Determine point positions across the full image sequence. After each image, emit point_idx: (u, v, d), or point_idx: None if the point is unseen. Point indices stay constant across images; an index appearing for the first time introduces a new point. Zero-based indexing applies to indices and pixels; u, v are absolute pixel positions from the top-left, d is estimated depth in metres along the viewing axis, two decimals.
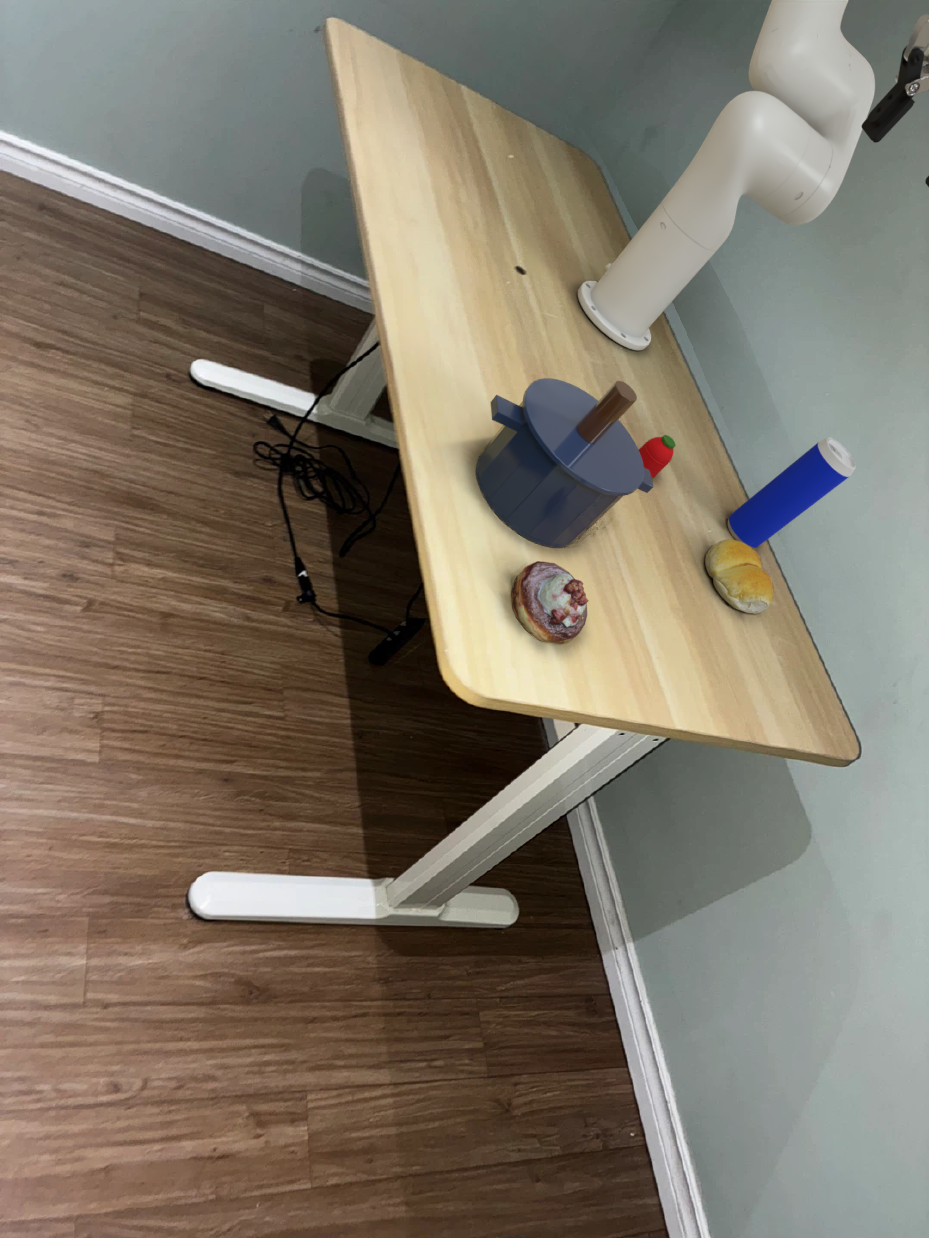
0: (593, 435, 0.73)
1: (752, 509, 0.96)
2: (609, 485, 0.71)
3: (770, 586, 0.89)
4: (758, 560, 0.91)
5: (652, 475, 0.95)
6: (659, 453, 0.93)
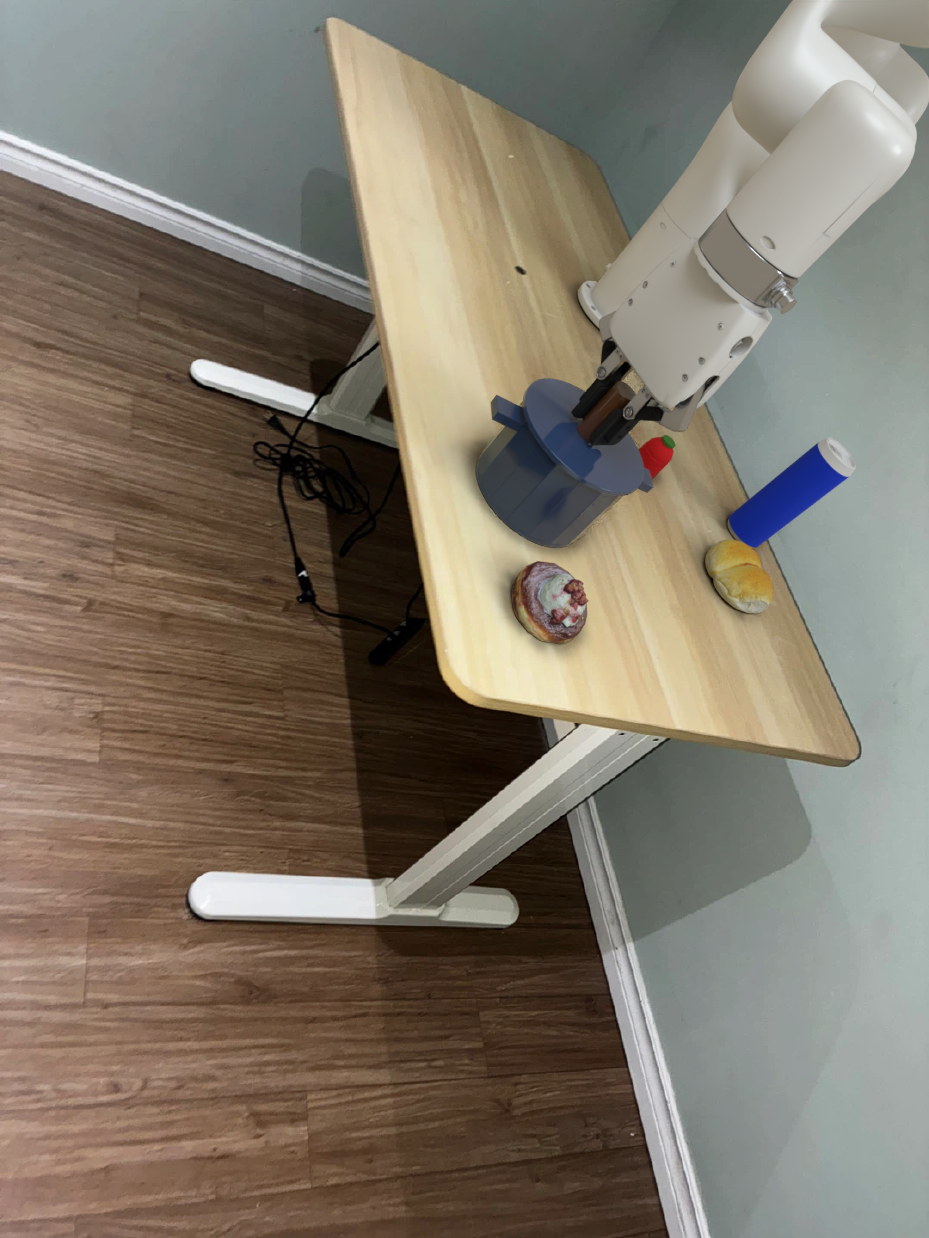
0: None
1: (752, 509, 0.96)
2: (609, 485, 0.71)
3: (770, 586, 0.89)
4: (758, 560, 0.91)
5: (652, 475, 0.95)
6: (659, 453, 0.93)
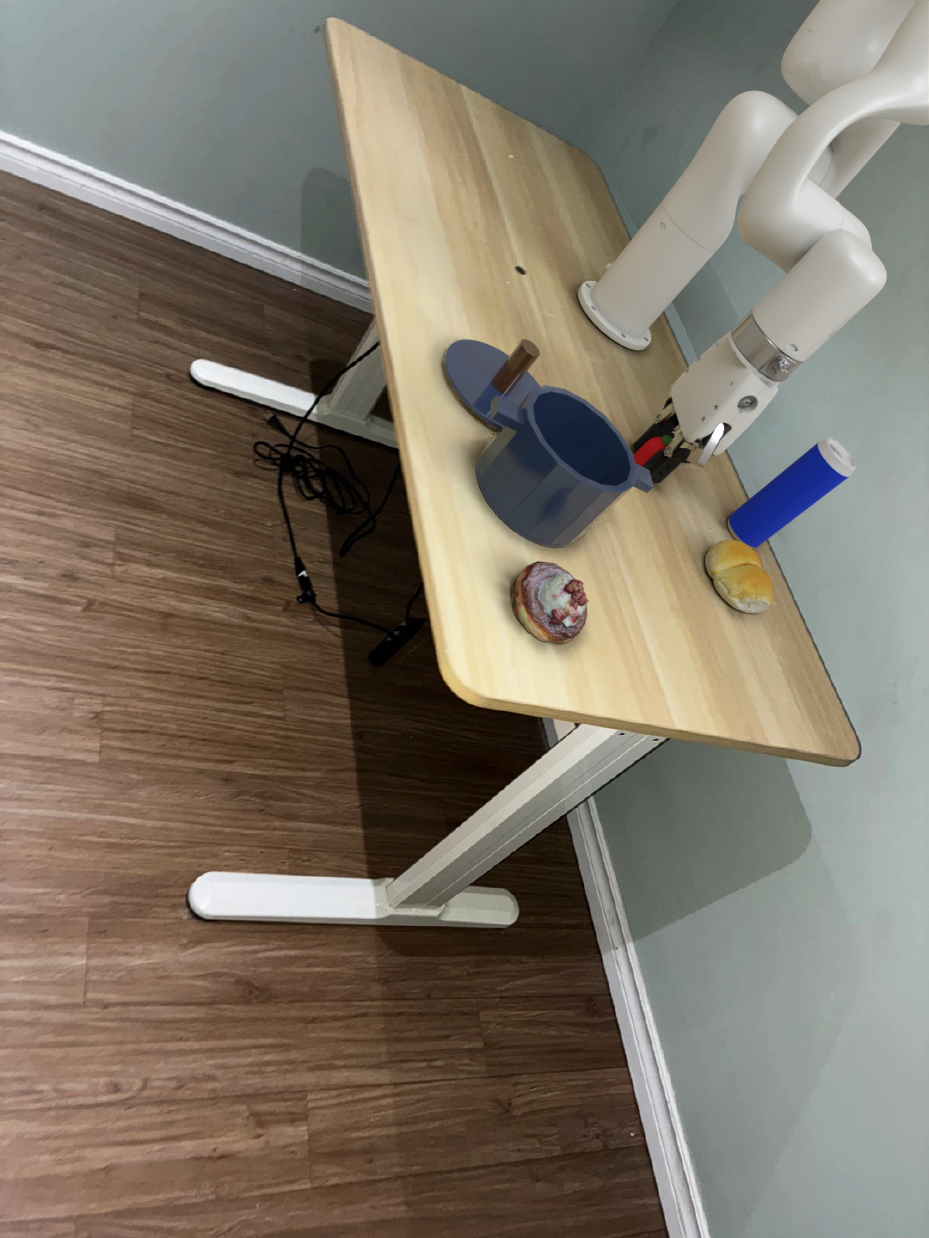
0: (505, 387, 0.85)
1: (752, 509, 0.96)
2: None
3: (770, 586, 0.89)
4: (758, 560, 0.91)
5: None
6: None
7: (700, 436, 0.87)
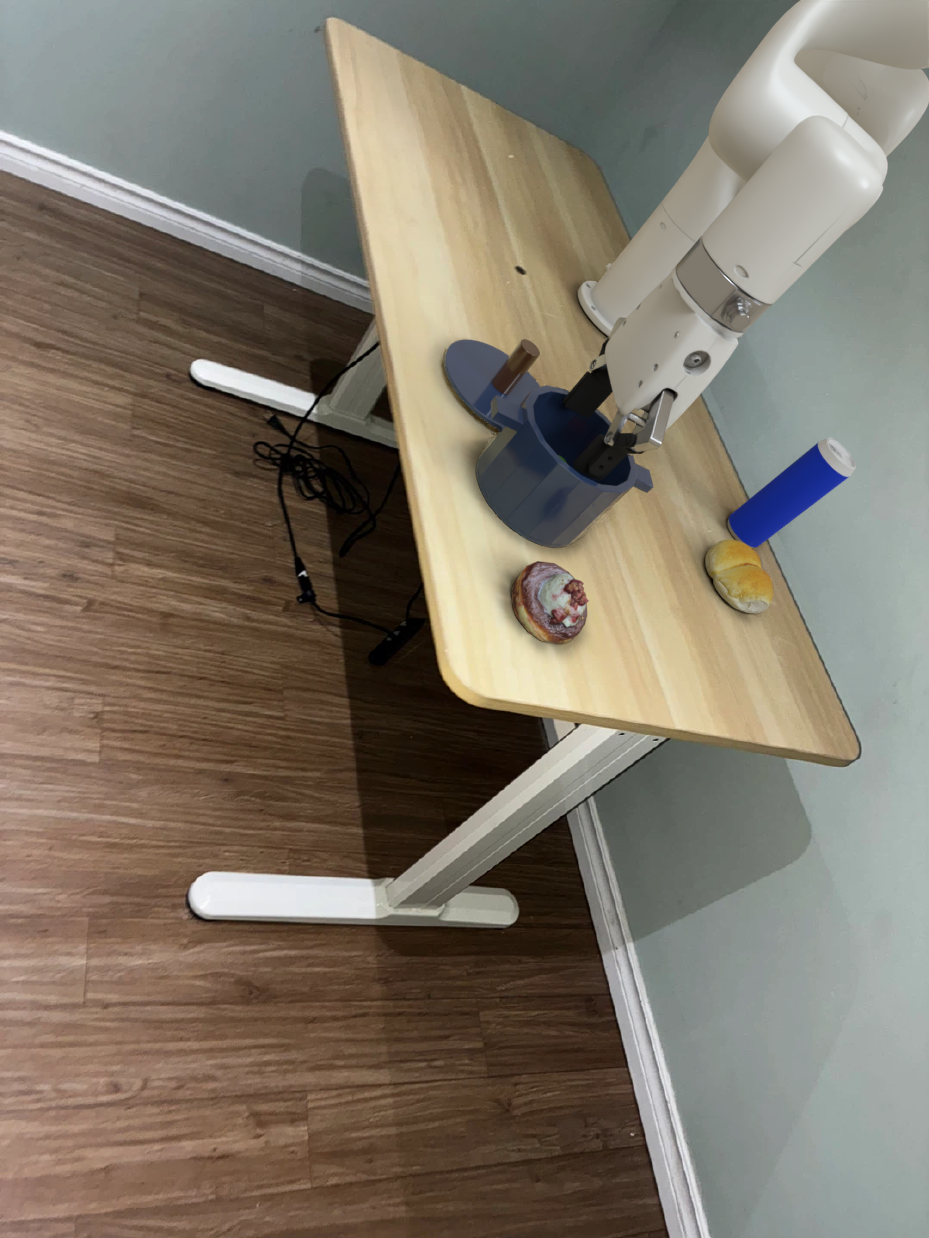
0: (505, 387, 0.85)
1: (752, 509, 0.96)
2: None
3: (770, 586, 0.89)
4: (758, 560, 0.91)
5: None
6: None
7: (648, 396, 0.65)
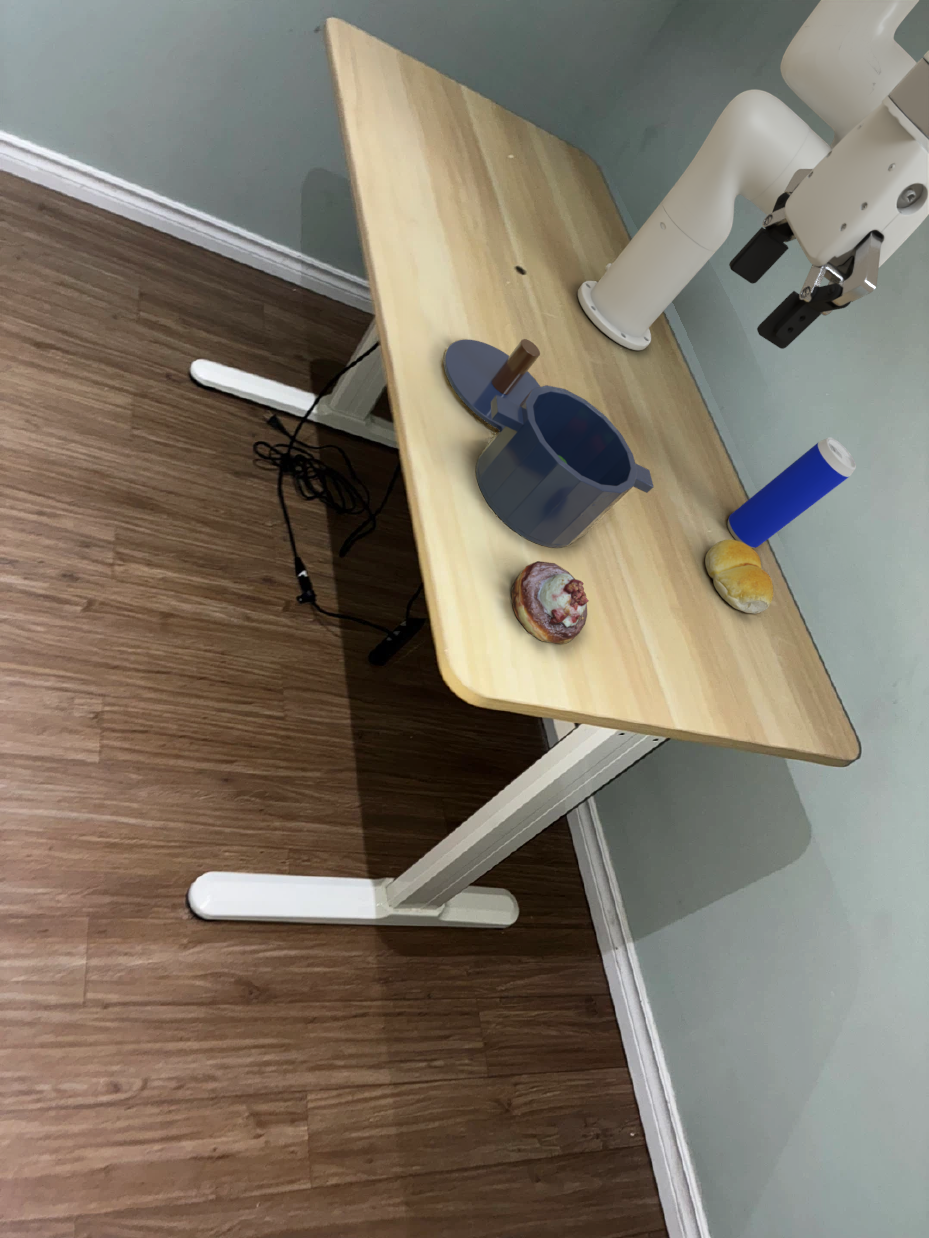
0: (505, 387, 0.85)
1: (752, 509, 0.96)
2: None
3: (770, 586, 0.89)
4: (758, 560, 0.91)
5: None
6: None
7: (857, 235, 0.60)
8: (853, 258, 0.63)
